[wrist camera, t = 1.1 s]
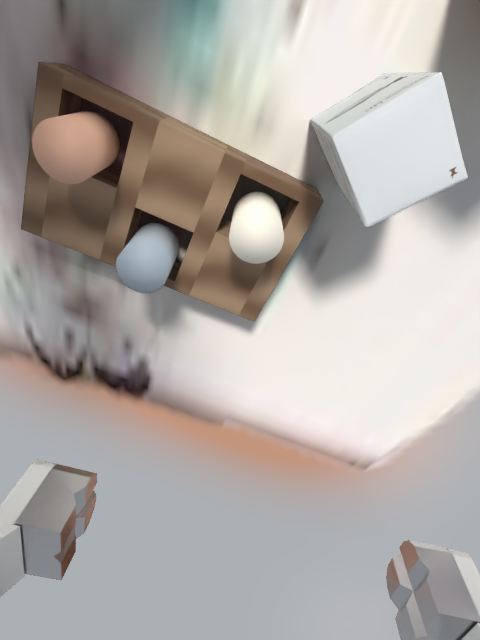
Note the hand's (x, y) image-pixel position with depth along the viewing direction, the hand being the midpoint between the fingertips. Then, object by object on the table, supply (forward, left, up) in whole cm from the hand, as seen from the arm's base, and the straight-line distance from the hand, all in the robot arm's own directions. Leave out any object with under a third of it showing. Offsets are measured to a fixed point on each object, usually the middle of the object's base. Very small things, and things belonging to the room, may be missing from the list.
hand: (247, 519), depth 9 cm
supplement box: (-9, +7, -34) cm, 36 cm away
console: (+5, -7, -34) cm, 35 cm away
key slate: (+8, -7, -30) cm, 32 cm away
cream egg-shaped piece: (+1, +1, -30) cm, 30 cm away
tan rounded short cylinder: (+1, -15, -30) cm, 34 cm away
